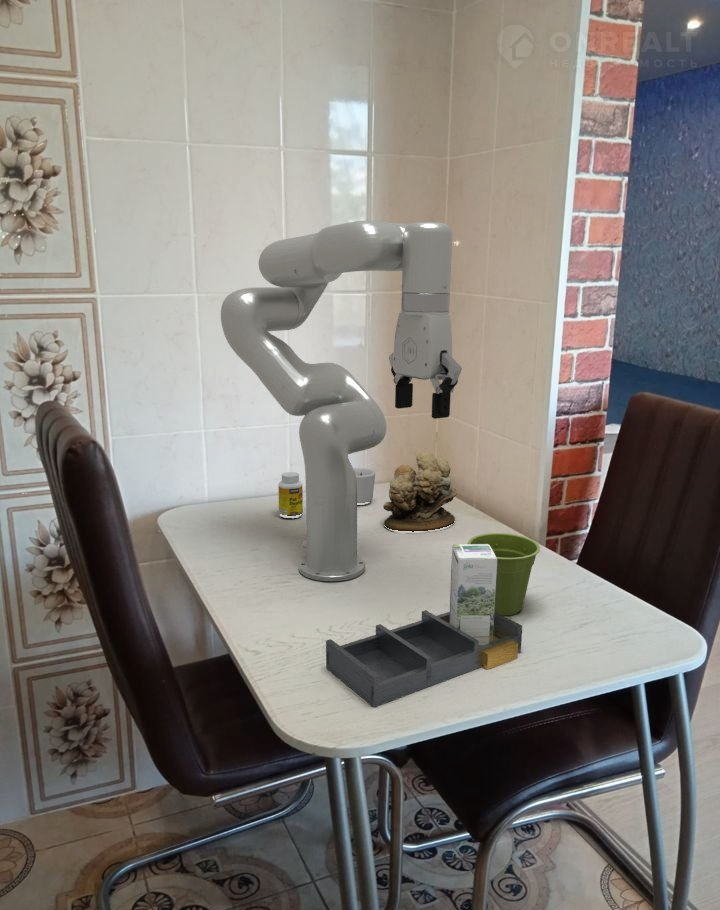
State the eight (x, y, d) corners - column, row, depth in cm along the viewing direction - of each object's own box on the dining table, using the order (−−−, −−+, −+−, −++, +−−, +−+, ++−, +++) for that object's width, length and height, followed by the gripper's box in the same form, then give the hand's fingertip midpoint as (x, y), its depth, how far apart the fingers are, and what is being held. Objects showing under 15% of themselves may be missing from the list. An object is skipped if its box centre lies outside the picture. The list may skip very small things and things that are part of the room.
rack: (326, 668, 107) (325, 640, 106) (466, 621, 121) (467, 597, 120) (378, 711, 96) (378, 681, 95) (525, 654, 110) (527, 628, 109)
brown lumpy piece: (440, 512, 178) (442, 442, 174) (468, 526, 168) (472, 453, 164) (373, 522, 170) (374, 449, 166) (399, 538, 160) (401, 461, 156)
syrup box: (484, 629, 116) (488, 541, 113) (493, 648, 111) (497, 556, 107) (448, 630, 116) (451, 542, 113) (455, 649, 110) (458, 556, 107)
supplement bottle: (289, 521, 170) (288, 478, 168) (274, 516, 174) (273, 473, 172) (307, 516, 174) (307, 474, 172) (292, 511, 178) (291, 469, 176)
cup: (328, 506, 182) (328, 474, 180) (335, 497, 189) (334, 466, 187) (372, 508, 180) (372, 476, 178) (377, 499, 188) (377, 468, 186)
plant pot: (452, 599, 129) (454, 538, 127) (509, 588, 134) (512, 529, 131) (489, 628, 119) (493, 562, 116) (551, 615, 123) (555, 551, 121)
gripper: (374, 302, 122) (372, 406, 126) (441, 308, 108) (436, 424, 112) (411, 302, 126) (408, 402, 130) (480, 307, 112) (474, 419, 116)
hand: (421, 412), depth 121 cm, fingers open, 9 cm apart
